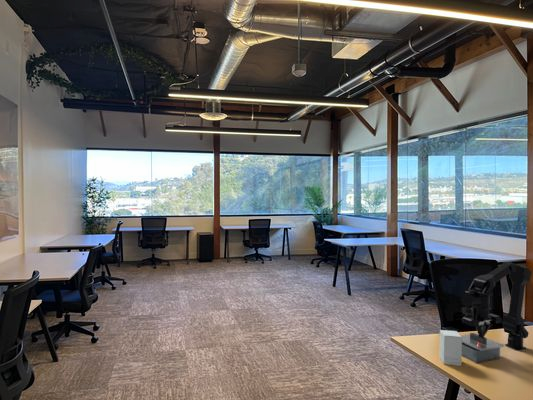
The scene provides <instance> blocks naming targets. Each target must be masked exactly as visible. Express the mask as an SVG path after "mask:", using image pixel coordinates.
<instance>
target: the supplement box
mask: <svg viewBox="0 0 533 400" xmlns="http://www.w3.org/2000/svg"><path fill="white" fill-rule="evenodd" d="M461 336H462V335H461V334H460V333H459V332H458V331H457V330H446V329H445V330H444V329H440V330H439V350H438V352H439V354H438V358H439V359H440V361H441V362H442V364H443V365H449V366H458V367H459V366H460V367H461V366H462V357H463V356H462V337H461Z"/></svg>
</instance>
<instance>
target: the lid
mask: <svg viewBox="0 0 533 400" xmlns="http://www.w3.org/2000/svg"><path fill="white" fill-rule="evenodd" d="M461 337H462V343H464V344H466V345H468V346H471V347H473V348H475V349H477V350H479V351H483V350H489V349H495V348H500V349H501V348H505V344H502V343H500V342H498V341H496V340H493V339H490V338H488V337H486V336H484V337H482V336H480V335H479V334H478V333H476V332H470V333H468V334H463V335H461Z"/></svg>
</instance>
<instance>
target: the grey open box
mask: <svg viewBox="0 0 533 400" xmlns="http://www.w3.org/2000/svg"><path fill="white" fill-rule="evenodd" d="M462 357H463V358H466V359H467V360H469V361H470V362H473V363H475V364H480V363H485V362H491V361H496V360H500V359H501V358H500V357H501V348H495V349H489V350H483V351H479V350H477V349H475V348H473V347H471V346H468V345H466V344H464V343H462Z"/></svg>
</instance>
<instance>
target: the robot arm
mask: <svg viewBox="0 0 533 400" xmlns="http://www.w3.org/2000/svg"><path fill="white" fill-rule="evenodd" d="M508 275H509V279H510V281H511V284H512V286H511V295H510V301H509V308H508V309H509V310H508V313H507V314H506V315H505V314H504V315H503V316H502V317H501V316H500V315H497V314H494V313H490V312H491V311H492V309H493V308H492V307H490V301H491V300H490V298H491V297H490V296H493V295H494V293H493V292H492V290H493V289H494V288H495V287H496V283H497V282H499V281H501V280H502V279H504V278H505V277H506V276H508ZM531 277H532V270H531V269H530V268H528V267H525V266H521V265H518V264H516V263H513V262H509V261H504V262H502V264H501V265H499V266H498V267H496V268H495V269H493V270H491V271H490V272H488V273H487V274H482V275H481V274H480V275H477V276H476V277H474V278H473V280H472V282H471V284H470V286H469V288H468V290H465V291H464V293H463V294H462V295H461V297H460V301H461V303H462V305H463V307H461V313H462V314H463V315H464V316H463V317H462V318H461V323H462V324H465V325H467V326H469V327H473V328H475V329H476V331H477V334H478V335H480V336H482V337H486V334H487V333H488V332H489V330H490V328H491V327H492V326H493V324H492V323H491V322H493V321H494V322H495V323H496V324H502V329H503V331H504V333H507V343H505V344H504V347H505V346H506V347H508V348H511V349H513V350H516V351H522V350H526V349H527V347H526V346H524V339H527V338H528V337H529V334H530V333H529V331H528V330H527V329H526V327H525V321H524V319H523V317H522V310H523V302H524V296H525V287H526V285H527V284H528V283H529V282H530V281H531ZM469 307H471V308H469ZM490 321H491V322H490Z"/></svg>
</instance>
